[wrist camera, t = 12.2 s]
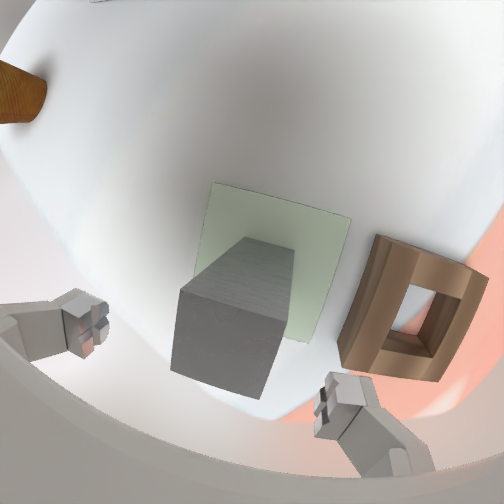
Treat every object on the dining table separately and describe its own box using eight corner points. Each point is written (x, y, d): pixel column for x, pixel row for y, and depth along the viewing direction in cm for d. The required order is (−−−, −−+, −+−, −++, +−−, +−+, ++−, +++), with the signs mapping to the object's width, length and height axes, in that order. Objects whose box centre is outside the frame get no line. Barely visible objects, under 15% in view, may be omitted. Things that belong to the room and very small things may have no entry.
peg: (233, 283, 22) (170, 370, 11) (244, 236, 21) (180, 289, 10) (281, 297, 22) (258, 399, 10) (294, 250, 21) (287, 322, 9)
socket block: (336, 341, 22) (341, 367, 19) (376, 233, 20) (392, 242, 16) (424, 359, 21) (438, 382, 17) (465, 265, 19) (489, 278, 15)
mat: (190, 305, 24) (188, 307, 23) (214, 182, 21) (212, 182, 21) (308, 340, 23) (308, 343, 22) (349, 218, 20) (351, 219, 19)
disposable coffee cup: (23, 85, 22) (-35, 74, 11) (59, 58, 21) (-6, 37, 9) (15, 142, 24) (-49, 141, 13) (49, 121, 23) (-28, 112, 11)
